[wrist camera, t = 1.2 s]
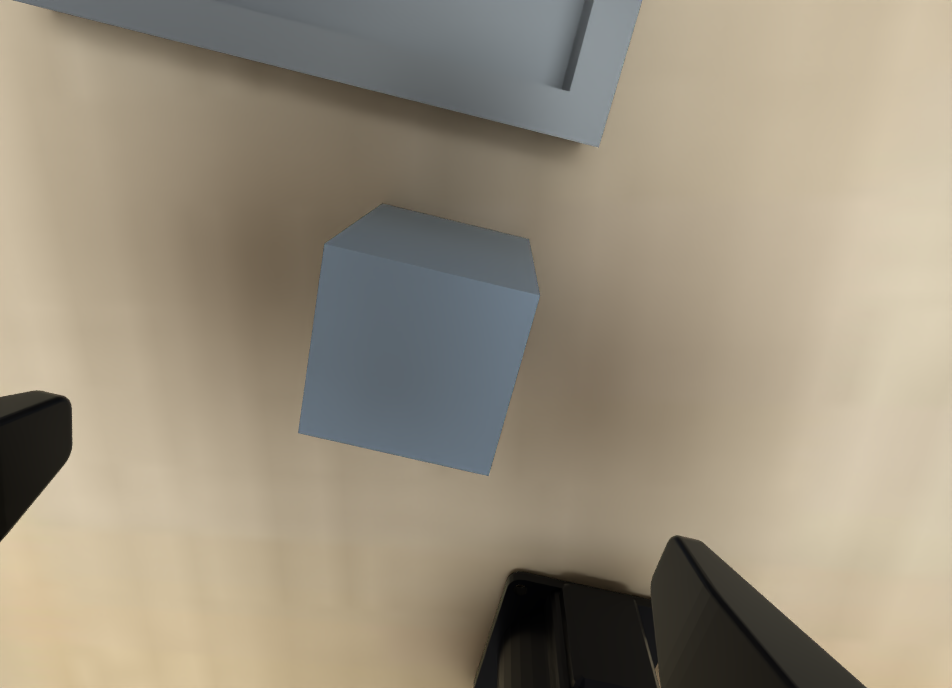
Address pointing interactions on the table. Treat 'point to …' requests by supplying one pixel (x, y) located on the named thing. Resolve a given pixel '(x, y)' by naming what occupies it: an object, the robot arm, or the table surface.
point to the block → (418, 337)
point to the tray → (417, 49)
